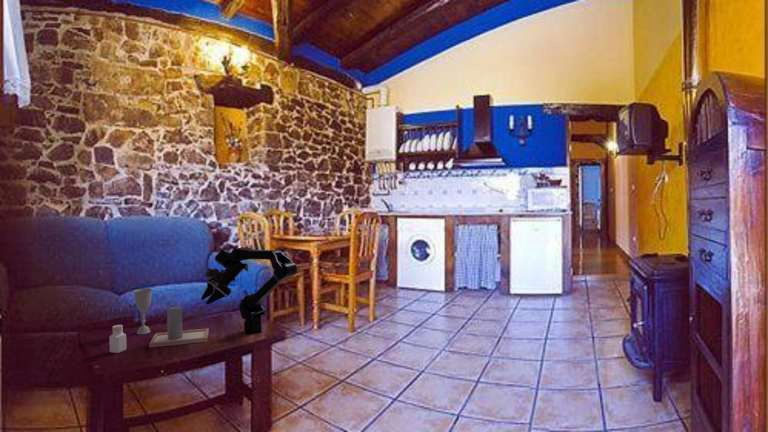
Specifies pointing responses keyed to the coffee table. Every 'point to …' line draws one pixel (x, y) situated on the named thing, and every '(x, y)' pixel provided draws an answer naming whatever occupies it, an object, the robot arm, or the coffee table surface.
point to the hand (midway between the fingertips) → (204, 301)
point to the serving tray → (187, 338)
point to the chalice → (143, 306)
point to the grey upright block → (174, 322)
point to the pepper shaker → (117, 339)
